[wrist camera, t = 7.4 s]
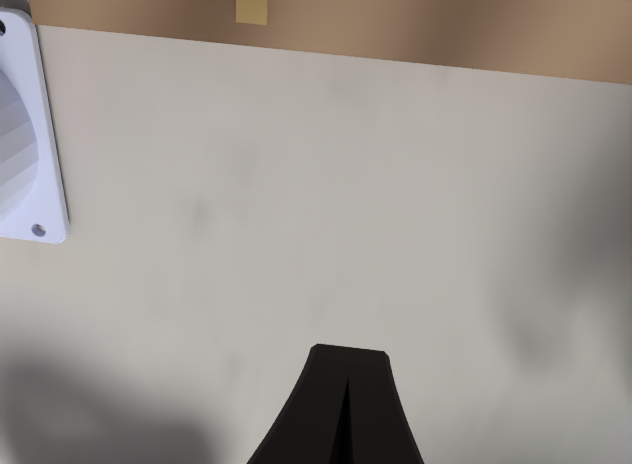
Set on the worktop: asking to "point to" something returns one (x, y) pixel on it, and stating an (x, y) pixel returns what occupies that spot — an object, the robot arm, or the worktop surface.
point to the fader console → (387, 29)
